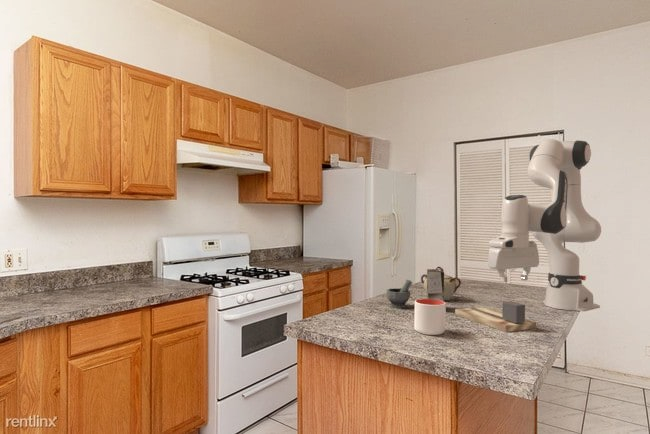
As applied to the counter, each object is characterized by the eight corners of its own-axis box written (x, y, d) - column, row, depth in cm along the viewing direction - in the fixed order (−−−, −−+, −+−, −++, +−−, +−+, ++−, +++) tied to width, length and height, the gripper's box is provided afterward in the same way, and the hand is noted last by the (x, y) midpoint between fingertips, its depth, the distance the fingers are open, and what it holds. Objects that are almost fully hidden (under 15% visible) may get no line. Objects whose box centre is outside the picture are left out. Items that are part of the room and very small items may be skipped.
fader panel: (482, 311, 162) (482, 306, 162) (535, 328, 139) (536, 322, 139) (455, 314, 157) (455, 308, 157) (505, 332, 134) (505, 325, 134)
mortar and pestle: (382, 306, 169) (382, 278, 169) (394, 303, 176) (394, 275, 176) (405, 311, 161) (405, 281, 161) (417, 307, 168) (417, 279, 168)
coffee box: (444, 312, 160) (444, 272, 160) (427, 311, 162) (428, 271, 162) (442, 307, 169) (442, 269, 169) (426, 306, 171) (426, 268, 171)
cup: (440, 338, 126) (440, 306, 126) (409, 332, 132) (410, 302, 132) (448, 330, 135) (449, 301, 135) (419, 325, 140) (420, 297, 140)
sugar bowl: (412, 298, 187) (413, 266, 187) (428, 293, 198) (428, 263, 198) (453, 304, 174) (453, 270, 174) (467, 299, 185) (467, 267, 185)
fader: (510, 317, 143) (511, 301, 143) (524, 322, 137) (525, 304, 137) (502, 318, 142) (502, 302, 142) (516, 323, 136) (516, 305, 136)
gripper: (528, 239, 146) (528, 277, 146) (485, 241, 139) (484, 281, 139) (544, 241, 140) (543, 280, 141) (499, 243, 133) (499, 284, 133)
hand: (514, 280), depth 140 cm, fingers open, 8 cm apart
